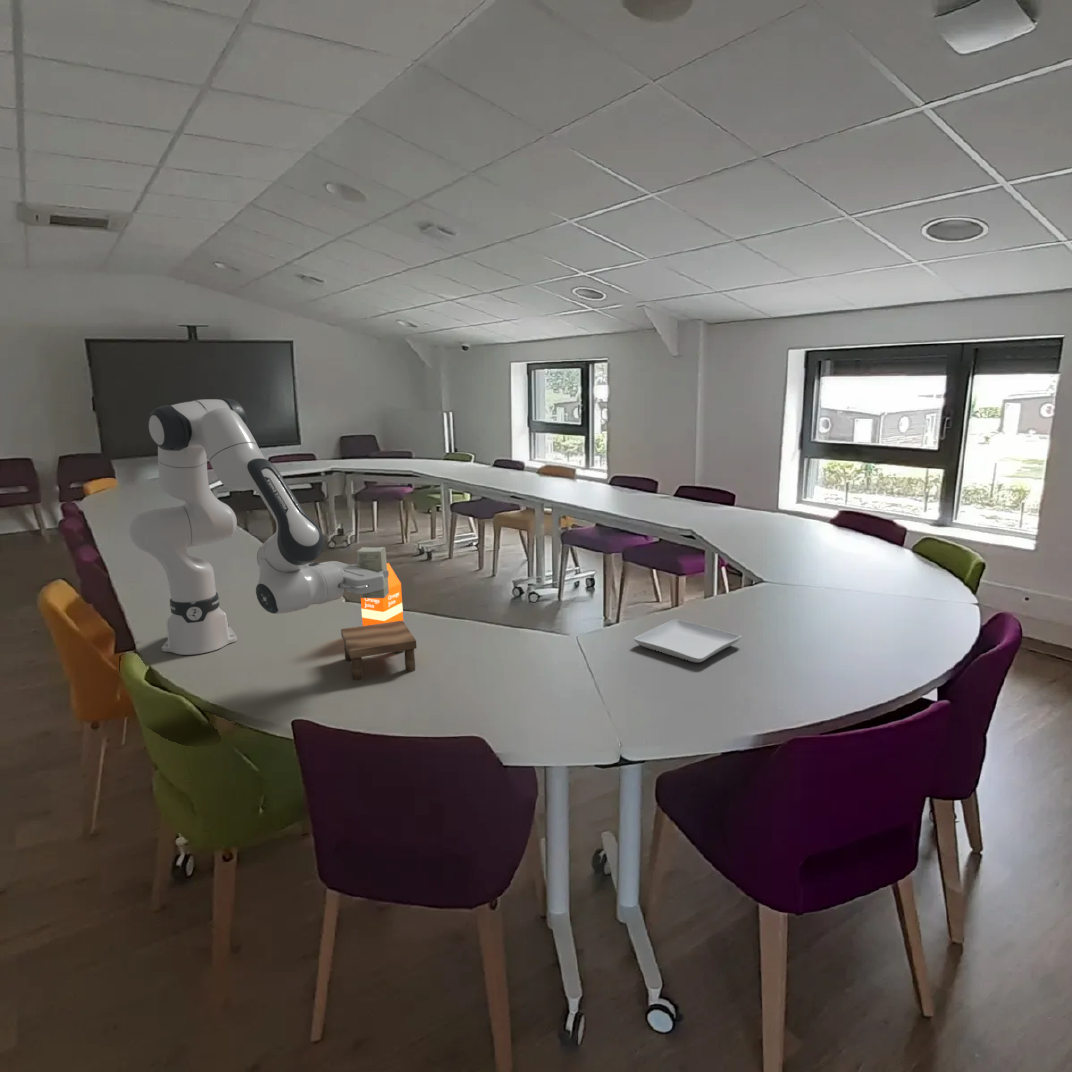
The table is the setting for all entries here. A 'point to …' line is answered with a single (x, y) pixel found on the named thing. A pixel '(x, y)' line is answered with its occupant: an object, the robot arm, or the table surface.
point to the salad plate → (687, 640)
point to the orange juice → (384, 604)
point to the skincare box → (374, 567)
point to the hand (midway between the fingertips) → (376, 569)
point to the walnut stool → (378, 644)
